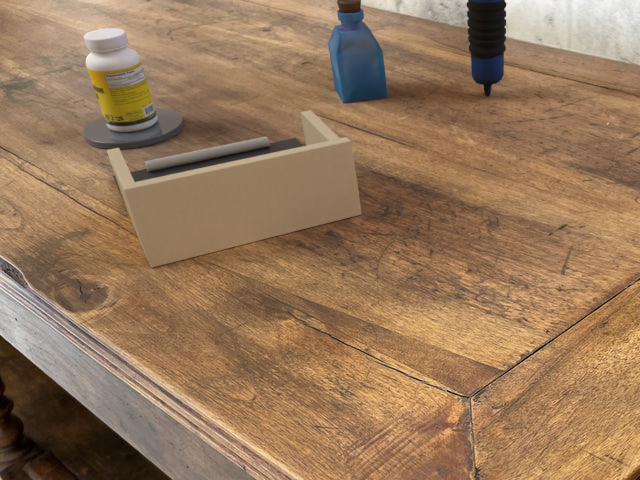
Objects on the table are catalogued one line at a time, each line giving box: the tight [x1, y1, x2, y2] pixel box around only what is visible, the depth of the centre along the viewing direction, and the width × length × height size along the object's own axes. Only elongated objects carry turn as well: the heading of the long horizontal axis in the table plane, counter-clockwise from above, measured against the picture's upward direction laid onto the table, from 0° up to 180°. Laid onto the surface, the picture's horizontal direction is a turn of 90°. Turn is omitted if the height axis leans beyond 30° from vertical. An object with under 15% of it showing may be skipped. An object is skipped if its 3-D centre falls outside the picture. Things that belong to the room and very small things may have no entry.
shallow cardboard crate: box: [106, 109, 363, 269], centre depth 84 cm, size 21×22×8 cm
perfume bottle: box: [327, 0, 389, 104], centre depth 108 cm, size 6×6×12 cm
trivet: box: [82, 107, 185, 150], centre depth 102 cm, size 12×12×1 cm
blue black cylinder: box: [466, 0, 507, 97], centre depth 105 cm, size 8×8×20 cm
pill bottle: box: [83, 27, 157, 132], centre depth 98 cm, size 6×6×11 cm
